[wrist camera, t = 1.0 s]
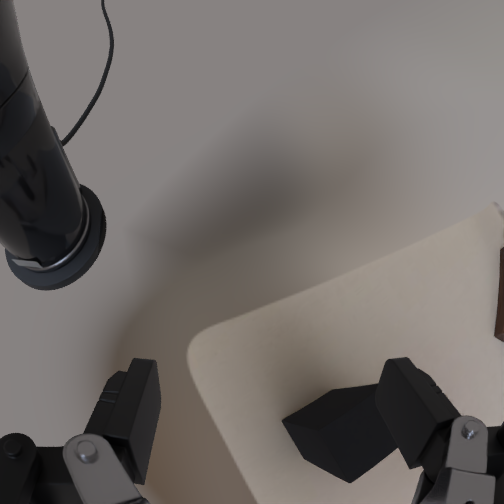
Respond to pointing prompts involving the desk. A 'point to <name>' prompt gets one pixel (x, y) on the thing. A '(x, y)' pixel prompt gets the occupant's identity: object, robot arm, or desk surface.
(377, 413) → the black rectangular block
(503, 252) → the black brown block stand
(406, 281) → the desk surface
